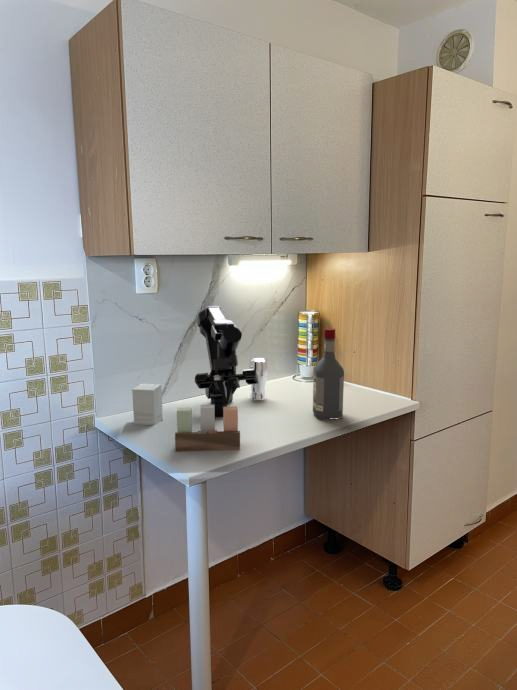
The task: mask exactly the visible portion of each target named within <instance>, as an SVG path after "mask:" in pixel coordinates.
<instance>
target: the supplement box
mask: <svg viewBox="0 0 517 690" xmlns="http://www.w3.org/2000/svg"><path fill="white" fill-rule="evenodd" d="M131 391H132V407H133V409H132V410H133V412H132V413H133V424H135V425H143V426H149V425H150V426H155V425H157V424H158V423H160V422H163V420H164V418H163V415H164V414H163V393H162V384H158V383H157V384H156V383H155V384H154V383H140V384H138V385H136V386H135V387H133V388H132V389H131Z"/></svg>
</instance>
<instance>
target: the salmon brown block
mask: <svg viewBox="0 0 517 690" xmlns="http://www.w3.org/2000/svg"><path fill="white" fill-rule="evenodd" d="M238 412H239V409H238V406H237V405H236V406H234V405H233V406H231V405H230V406H227V407H223V416H222V417H223V431H239V423H238V422H239V413H238Z"/></svg>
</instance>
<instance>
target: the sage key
mask: <svg viewBox="0 0 517 690" xmlns="http://www.w3.org/2000/svg"><path fill="white" fill-rule="evenodd" d="M192 408H193V407H189V406H188V407H177V409H176V432H193V411H192Z"/></svg>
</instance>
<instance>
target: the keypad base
mask: <svg viewBox="0 0 517 690" xmlns="http://www.w3.org/2000/svg"><path fill="white" fill-rule="evenodd" d="M174 442H175V444H174V449H175V452H202V451H203V452H204V451H205V452H206V451H232V450H233V451H235V450H236V451H237V450H238V451H239V450H241V431H240V430H238V431H224V430H222V431H221V430H220V431H218V430H217V429H215V430H209V432H207V430H205V431H201V430H197V431H192V432H177V431H176V432H174Z"/></svg>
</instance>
